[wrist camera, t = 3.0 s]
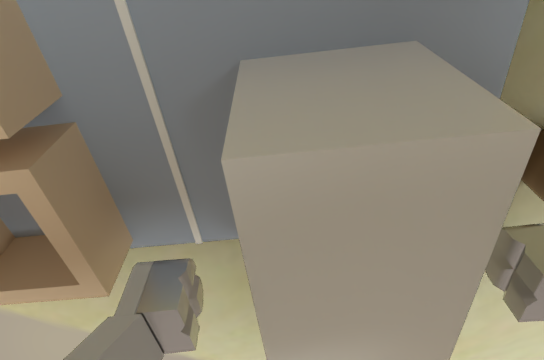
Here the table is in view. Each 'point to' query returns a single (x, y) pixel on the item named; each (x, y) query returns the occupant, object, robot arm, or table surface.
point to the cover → (368, 198)
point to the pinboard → (167, 115)
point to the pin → (536, 168)
